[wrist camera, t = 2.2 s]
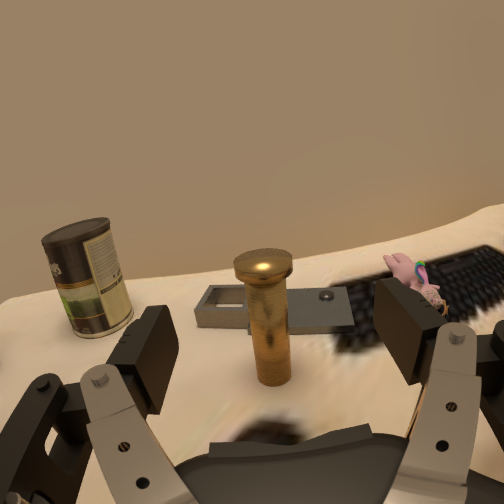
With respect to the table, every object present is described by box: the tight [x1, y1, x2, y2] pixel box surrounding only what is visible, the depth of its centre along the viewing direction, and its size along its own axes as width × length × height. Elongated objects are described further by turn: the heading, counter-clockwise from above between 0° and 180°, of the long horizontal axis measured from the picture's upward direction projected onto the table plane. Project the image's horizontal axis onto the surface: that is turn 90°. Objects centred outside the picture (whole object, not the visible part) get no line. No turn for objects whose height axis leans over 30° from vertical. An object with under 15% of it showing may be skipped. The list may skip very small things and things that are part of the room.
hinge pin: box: [234, 248, 293, 386], centre depth 24 cm, size 4×4×12 cm
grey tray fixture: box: [194, 285, 354, 335], centre depth 36 cm, size 19×9×2 cm, turn 80°
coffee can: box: [41, 217, 134, 338], centre depth 36 cm, size 10×10×14 cm
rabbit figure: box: [383, 253, 448, 317], centre depth 35 cm, size 6×6×15 cm
